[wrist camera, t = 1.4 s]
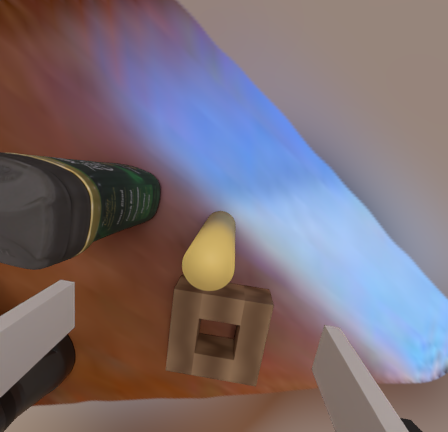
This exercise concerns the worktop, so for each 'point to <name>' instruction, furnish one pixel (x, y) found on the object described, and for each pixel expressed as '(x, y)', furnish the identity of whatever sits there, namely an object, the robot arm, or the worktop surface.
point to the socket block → (214, 345)
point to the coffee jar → (67, 206)
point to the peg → (212, 254)
